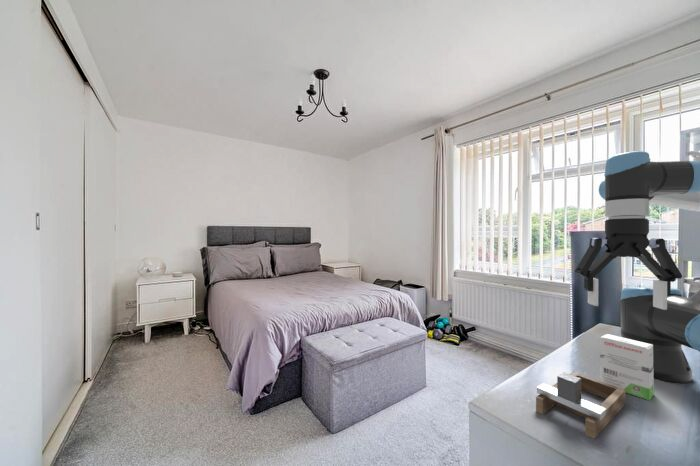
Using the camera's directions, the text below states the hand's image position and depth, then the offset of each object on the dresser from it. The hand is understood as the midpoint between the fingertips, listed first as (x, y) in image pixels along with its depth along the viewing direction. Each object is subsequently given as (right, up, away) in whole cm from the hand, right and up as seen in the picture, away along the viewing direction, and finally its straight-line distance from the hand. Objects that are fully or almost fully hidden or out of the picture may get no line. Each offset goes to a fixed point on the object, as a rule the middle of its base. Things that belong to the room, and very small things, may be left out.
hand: (625, 306), depth 66 cm
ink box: (0, -20, 0) cm, 20 cm away
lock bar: (-22, -17, -11) cm, 30 cm away
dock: (-17, -20, -7) cm, 27 cm away
